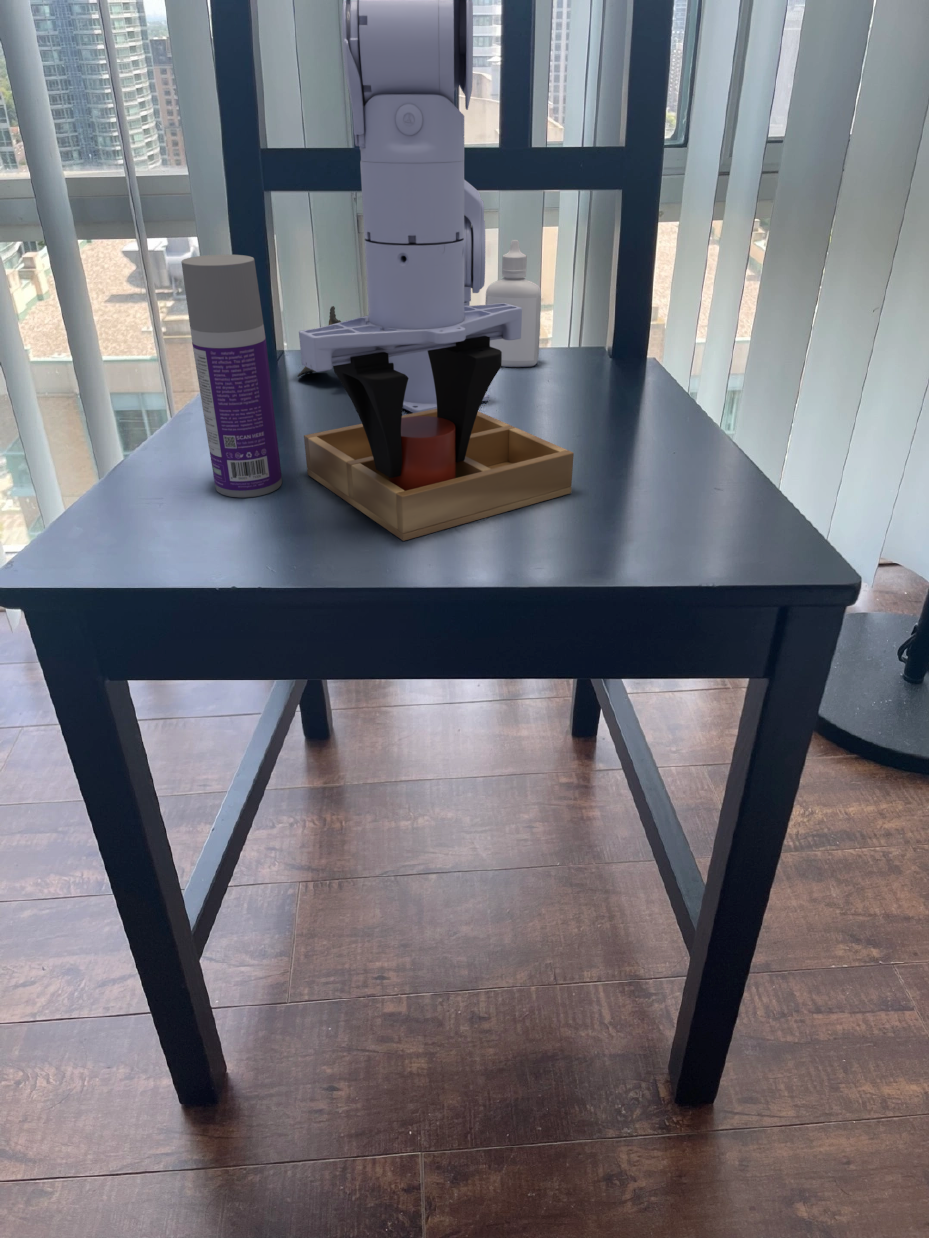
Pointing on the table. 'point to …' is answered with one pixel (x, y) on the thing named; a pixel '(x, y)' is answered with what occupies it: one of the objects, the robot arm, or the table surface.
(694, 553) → the table surface
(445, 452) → the red cylinder
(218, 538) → the table surface
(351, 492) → the grid
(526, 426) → the table surface
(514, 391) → the table surface
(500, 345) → the eye dropper bottle
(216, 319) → the container
